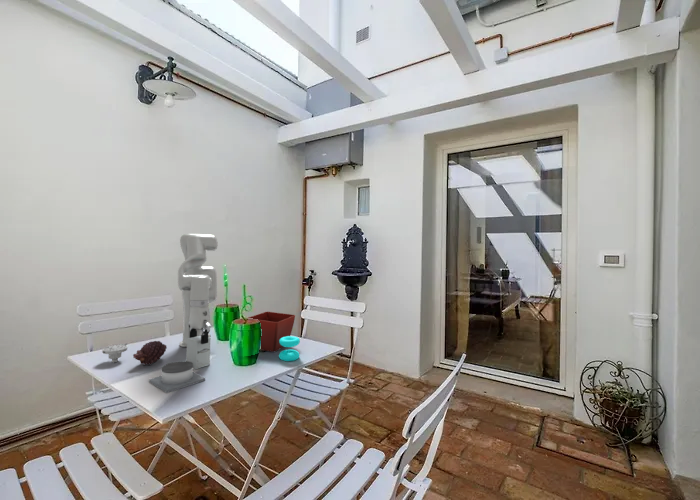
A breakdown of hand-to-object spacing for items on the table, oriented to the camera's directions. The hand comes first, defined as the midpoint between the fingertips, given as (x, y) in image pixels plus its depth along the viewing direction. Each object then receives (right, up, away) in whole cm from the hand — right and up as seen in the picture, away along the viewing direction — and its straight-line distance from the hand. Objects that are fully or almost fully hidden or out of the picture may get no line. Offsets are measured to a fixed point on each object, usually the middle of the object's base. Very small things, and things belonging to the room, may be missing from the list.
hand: (198, 341), depth 151 cm
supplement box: (-1, -11, +1) cm, 11 cm away
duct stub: (-1, -11, -16) cm, 20 cm away
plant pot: (+25, -12, +30) cm, 41 cm away
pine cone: (-22, -11, +2) cm, 25 cm away
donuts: (+38, -12, +14) cm, 43 cm away
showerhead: (-39, -10, +3) cm, 41 cm away
